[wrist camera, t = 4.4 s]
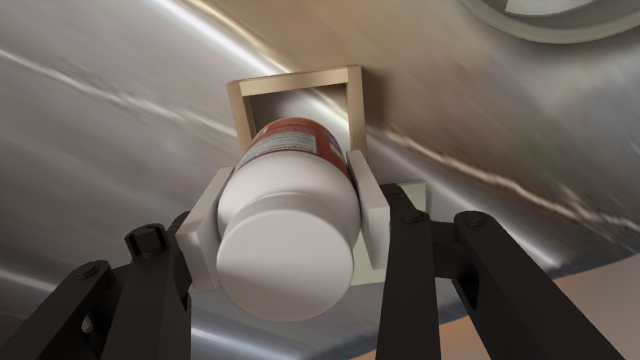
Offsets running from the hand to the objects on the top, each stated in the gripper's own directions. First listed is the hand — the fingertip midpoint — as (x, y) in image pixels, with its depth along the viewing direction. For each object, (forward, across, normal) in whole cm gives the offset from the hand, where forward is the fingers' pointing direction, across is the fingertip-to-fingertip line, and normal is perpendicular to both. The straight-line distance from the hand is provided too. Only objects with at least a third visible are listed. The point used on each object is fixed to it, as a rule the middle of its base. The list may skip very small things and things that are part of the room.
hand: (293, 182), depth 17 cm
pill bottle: (+4, 0, 0) cm, 4 cm away
